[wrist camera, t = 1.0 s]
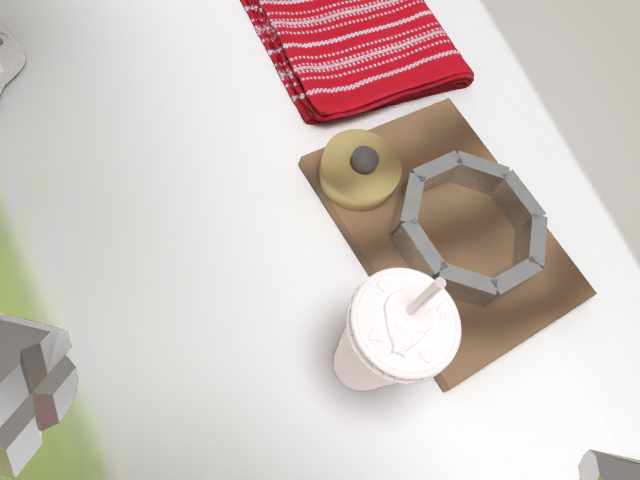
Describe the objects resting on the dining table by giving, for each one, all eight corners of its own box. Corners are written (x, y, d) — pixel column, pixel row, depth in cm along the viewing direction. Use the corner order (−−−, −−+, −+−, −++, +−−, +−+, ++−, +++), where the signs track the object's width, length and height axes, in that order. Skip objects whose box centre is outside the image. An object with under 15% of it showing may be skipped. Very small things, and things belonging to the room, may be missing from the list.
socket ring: (365, 202, 45) (375, 185, 43) (473, 153, 49) (487, 136, 47) (448, 327, 42) (463, 316, 40) (555, 263, 46) (574, 250, 44)
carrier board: (298, 165, 47) (308, 135, 43) (443, 106, 52) (462, 76, 49) (443, 392, 41) (468, 379, 38) (587, 298, 47) (620, 280, 43)
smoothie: (413, 338, 42) (510, 260, 30) (391, 426, 39) (488, 379, 27) (329, 305, 42) (392, 213, 30) (300, 392, 39) (357, 329, 27)
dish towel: (308, 139, 49) (314, 119, 46) (203, -63, 56) (204, -88, 54) (474, 93, 55) (487, 74, 52) (359, -83, 62) (366, -107, 60)
